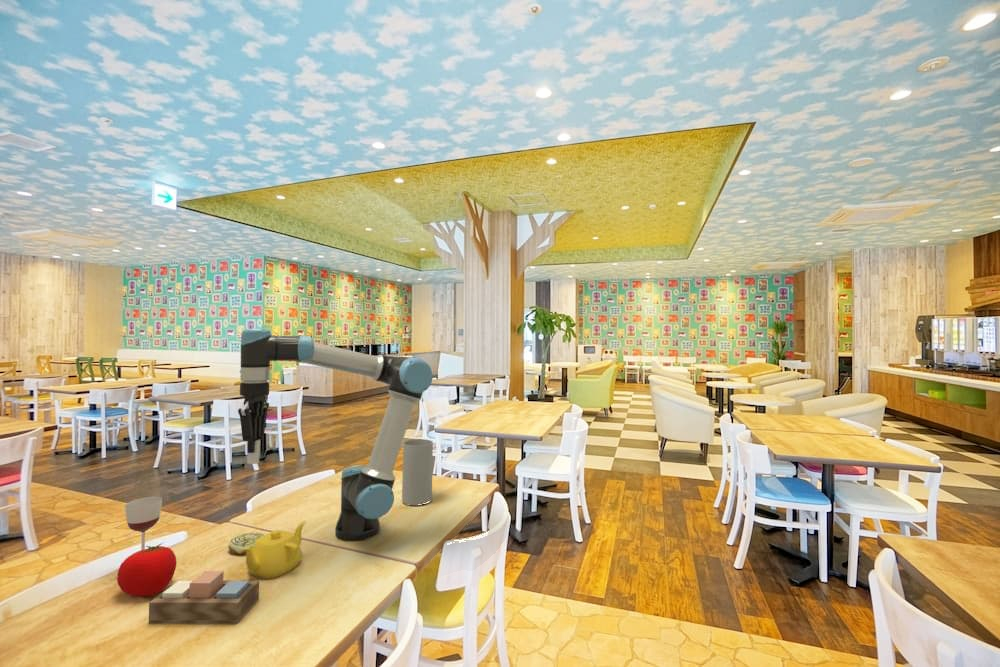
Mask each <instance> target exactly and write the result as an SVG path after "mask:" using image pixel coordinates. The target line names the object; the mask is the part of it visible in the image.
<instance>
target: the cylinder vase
mask: <svg viewBox="0 0 1000 667" xmlns="http://www.w3.org/2000/svg"><path fill="white" fill-rule="evenodd" d="M433 446H434V441H433V440H431V439H425V438H424V439H423V438H418V439H417V438H416V439H408V440H405V441H404V440H403V441H402V480H401V482H402V483H401V484H402V488H401V501H402V503H403V504H404V503H405V504H404V505H406V504H409V505H408V506H410V505H418V504H423V503H426V502H428V501H430V500H431V499H432V500H433V459H434V456H433V454H434V453H433V451H434V450H433V449H434V447H433ZM432 500H431V501H432Z"/></svg>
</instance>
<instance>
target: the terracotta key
mask: <svg viewBox="0 0 1000 667" xmlns="http://www.w3.org/2000/svg"><path fill="white" fill-rule="evenodd" d="M224 575H225V574H224V570H205V571H203V572H201V574H199V575H197V577H195V578H194V579H193V581H192V582H191V583H190V589H189V599H210V598H211V597H212V596H213V595H214V594H215V593H217V592H218V591H219V590H220V589H221V588H222V587H223V580H224Z"/></svg>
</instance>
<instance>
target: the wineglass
mask: <svg viewBox="0 0 1000 667" xmlns="http://www.w3.org/2000/svg"><path fill="white" fill-rule="evenodd" d="M124 506H125V519H126V523H127V527H128V528H129V529H131V530H132V531H135V532H140V533H141V544H140V545H141V546H140V547H141V549H140V551H141V550H144V549H146V548H145V547H146V545H145V544H146V531H148V530H149V529H151V528H152V527H154V526H155V525H156V524H157V523H158V521H159V520H160V516H161V513H162V508H163V507H162V506H163V497H161V496H147V497H146V496H145V497H141V498H137V499H134V500H131V501H129V502H127V503H126V504H125V505H124Z"/></svg>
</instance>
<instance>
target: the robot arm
mask: <svg viewBox="0 0 1000 667" xmlns="http://www.w3.org/2000/svg"><path fill="white" fill-rule="evenodd" d="M278 361H280V362H292V361H293V362H295V363H296V362H297V363H302V364H309V365H312V366H317V367H323V368H326V369H332V370H336V371H340V372H346V373H351V374H356V375H359V376H360V375H361V376H366V377H370V378H371V379H372V380H373V381H376V382H381V383H384V384H386V385H388V386H389V387H388V390H387V392H388V394H389V396H390V398H389V400H388V403H387V407H386V410H385V413H384V416H383V419H382V422H381V424H380V428H379V431H378V433H377V436H376V439H375V443H374V446H373V448H372V450H371V454H370V458H369V461H368V463H367V464H366V465H356V466H355V465H354V466H350V467H346V468H344V469H343V470H342V472H341V477H340V480H341V481H340V482H341V483H340V484H341V488H340V489H341V490H340V491H341V494H340V496H341V497H340V502H341V503H340V513H339V516H338V519H337V523H336V525H335V529H334V530H335V532H334V534H335V537H336V538H337V539H339V540H342V541H346V542H347V541H348V542H356V541H363V540H367V539H370V538H373V537H374V536H375V535H377V534H378V533H380V530H381V526H380V525H381V523H380V520H379V519H380V518H382V517H383V516H385V515H387V513H389V511H390V510H391V509H392V507H393V504H394V502H395V495H394V491H393V486H394V484H395V481H396V476H395V475H394V469H395V466H396V463H397V460H398V456H399V453H400V450H401V448H402V446H403V442H404V438H405V435H406V431H407V428H408V425H409V423H410V419H411V417H412V413H413V411H414V407H415V404H416V403H418V402H420V401H421V400H422V396H423V393H424V392H425V391H427V390H428V389H430V387H431V384H432V382H433V371H432V368H431V366H430V364H428V362H426V361H425V360H423V359H421V358H419V357H408V356H392V355H389V356H388V355H384V354H378V355H373V354H372V355H371V354H368V353H363V352H358V351H354V350H350V349H346V348H341V347H337V346H333V345H328V344H322V343H319V342H315V341H314V339H313V337H312V336H304V335H272V332H271V330H270V329H269V328H245V329H243V330H242V332H241V339H240V370H239V373H240V378H239V380H240V382H241V383H239V395H240V396H241V397H244V401H243V407H242V408H238V411H237V413H238V415H239V419H240V420H239V421H240V426H241V428H240V429H241V437H242V438H241V439H242V441H243V442H247V447H246V448H247V450H246V452H247V453H246V465H247V464H249V465H258V464H259V463H260V441H261V440H262V441H263V440H264V438H265V437H264V435H265V432H266V431H265V430H266V422H267V417H268V410H269V406H270V403H269V402H266V399H265V396H268V395H269V394H270V383H269V381H270V380H271V379H270V378H271V376H270V374H271V373H270V372H271V371H270V370H271V367H270V365H271V362H278Z"/></svg>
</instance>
